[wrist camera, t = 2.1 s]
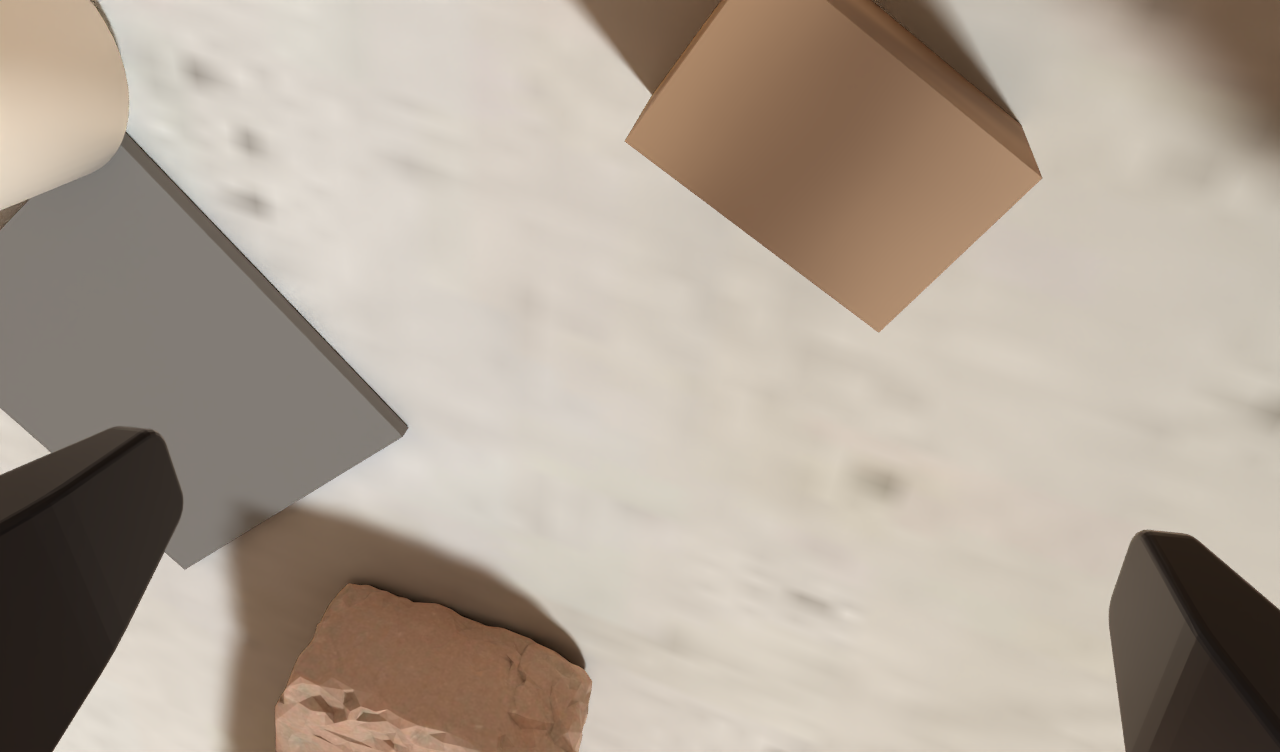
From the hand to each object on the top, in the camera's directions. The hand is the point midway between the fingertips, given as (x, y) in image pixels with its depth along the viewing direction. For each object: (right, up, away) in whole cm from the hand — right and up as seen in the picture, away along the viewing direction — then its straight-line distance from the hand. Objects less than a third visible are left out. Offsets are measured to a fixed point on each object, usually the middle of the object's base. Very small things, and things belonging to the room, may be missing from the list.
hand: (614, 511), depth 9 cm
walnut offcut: (+4, +7, +11) cm, 13 cm away
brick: (-7, -12, +25) cm, 29 cm away
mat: (-13, +1, +18) cm, 22 cm away
